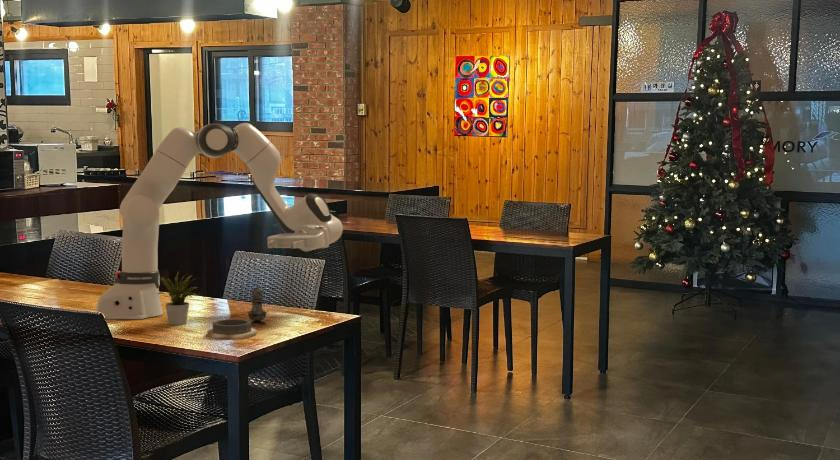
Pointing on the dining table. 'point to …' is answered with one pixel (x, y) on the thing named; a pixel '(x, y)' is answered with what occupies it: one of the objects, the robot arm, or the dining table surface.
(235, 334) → the collar holder
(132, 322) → the dining table surface
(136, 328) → the dining table surface
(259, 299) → the dark chess piece
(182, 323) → the house plant
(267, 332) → the dining table surface
